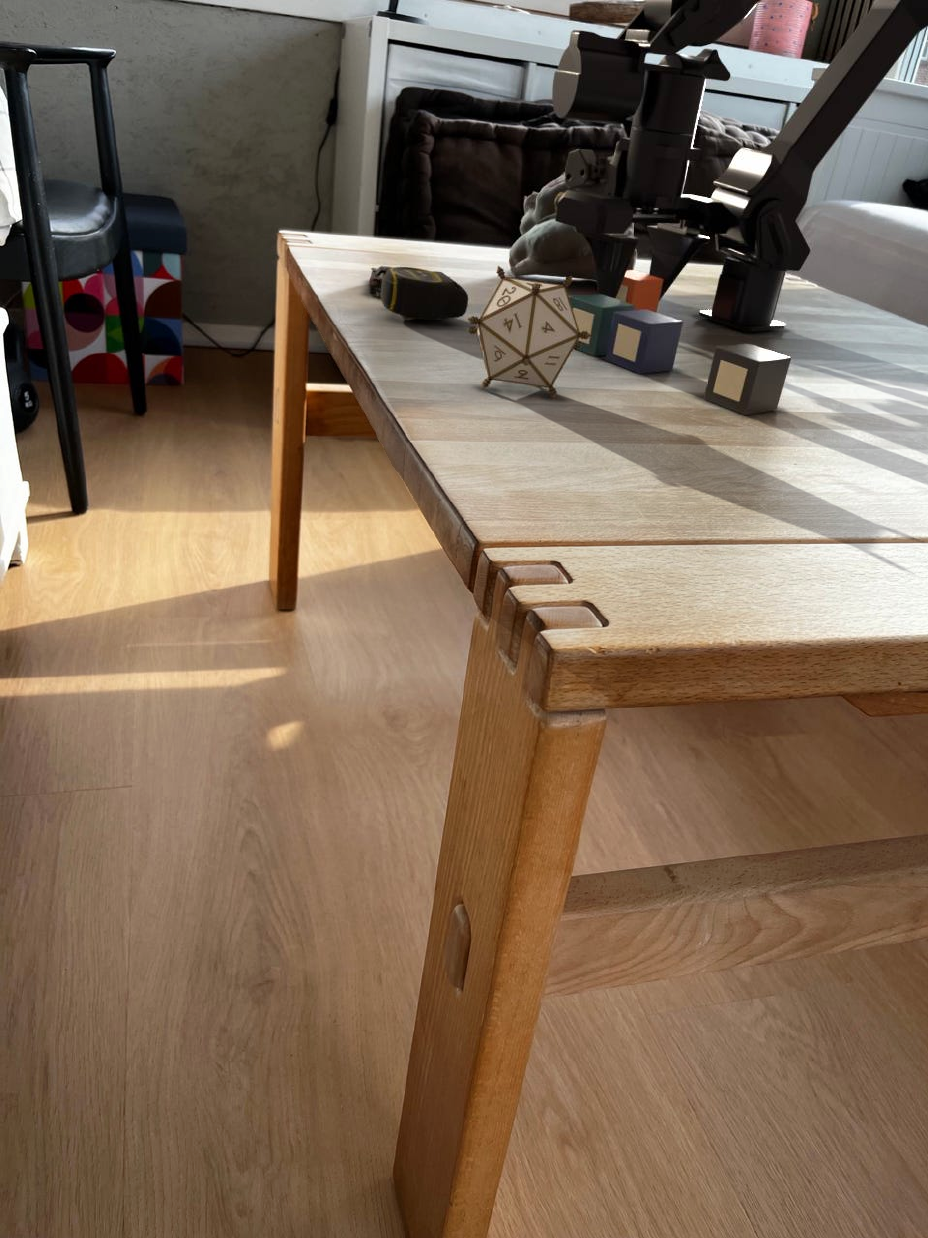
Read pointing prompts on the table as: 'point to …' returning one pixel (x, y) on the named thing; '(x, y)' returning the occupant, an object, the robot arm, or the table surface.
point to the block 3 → (746, 378)
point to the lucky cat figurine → (552, 240)
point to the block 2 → (643, 341)
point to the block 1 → (596, 320)
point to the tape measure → (422, 294)
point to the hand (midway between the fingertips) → (628, 306)
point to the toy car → (377, 279)
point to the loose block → (640, 290)
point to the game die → (527, 332)
